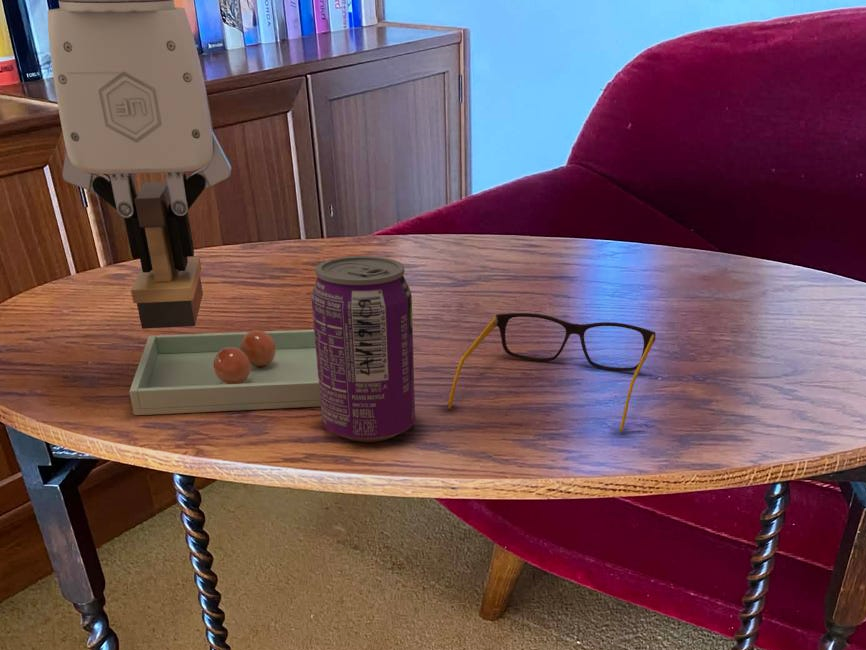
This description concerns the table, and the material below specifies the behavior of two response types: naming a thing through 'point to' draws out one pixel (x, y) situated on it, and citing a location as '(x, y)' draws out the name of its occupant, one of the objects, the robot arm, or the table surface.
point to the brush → (164, 268)
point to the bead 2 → (258, 348)
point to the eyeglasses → (570, 329)
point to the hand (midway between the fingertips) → (165, 265)
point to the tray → (204, 392)
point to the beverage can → (364, 347)
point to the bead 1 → (232, 365)
